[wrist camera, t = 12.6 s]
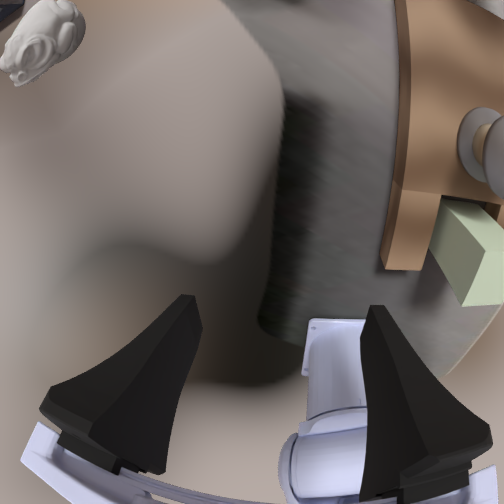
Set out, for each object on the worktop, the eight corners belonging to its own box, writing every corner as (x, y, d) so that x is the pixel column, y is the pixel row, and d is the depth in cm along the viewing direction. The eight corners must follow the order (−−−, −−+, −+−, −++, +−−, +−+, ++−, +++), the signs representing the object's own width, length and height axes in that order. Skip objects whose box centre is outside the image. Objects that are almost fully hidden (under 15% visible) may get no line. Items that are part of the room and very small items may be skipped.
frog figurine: (47, 80, 15) (-15, 96, 9) (58, 9, 11) (-3, 9, 5) (96, 74, 15) (27, 85, 9) (111, -6, 11) (46, -20, 5)
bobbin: (501, 184, 13) (529, 206, 10) (451, 173, 14) (479, 195, 11) (511, 118, 10) (543, 130, 7) (459, 98, 11) (492, 105, 8)
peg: (476, 203, 16) (525, 253, 10) (464, 247, 18) (501, 303, 12) (438, 198, 17) (485, 251, 11) (426, 245, 19) (461, 306, 13)
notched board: (490, 259, 18) (500, 272, 16) (379, 253, 20) (385, 269, 18) (521, 41, 7) (536, 41, 5) (392, -14, 9) (401, -24, 7)
